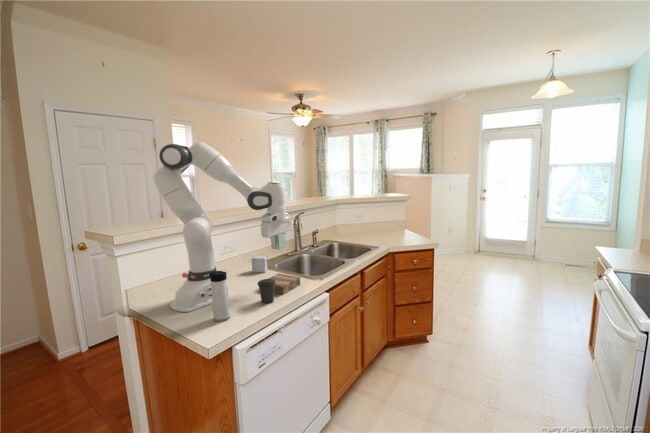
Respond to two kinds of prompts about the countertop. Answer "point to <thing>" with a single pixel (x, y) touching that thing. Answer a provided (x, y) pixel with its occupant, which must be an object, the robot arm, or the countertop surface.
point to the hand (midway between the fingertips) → (278, 242)
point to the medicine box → (259, 264)
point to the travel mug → (220, 295)
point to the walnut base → (285, 283)
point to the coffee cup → (266, 290)
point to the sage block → (279, 242)
